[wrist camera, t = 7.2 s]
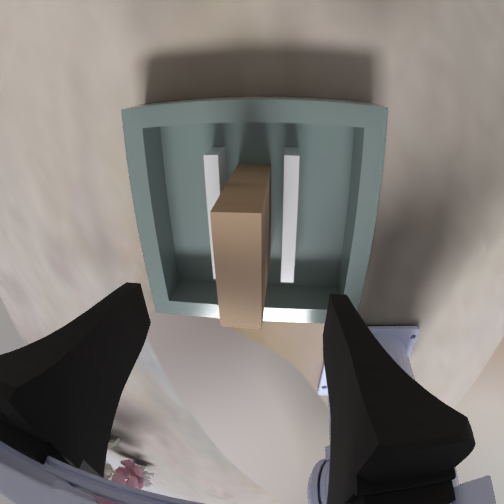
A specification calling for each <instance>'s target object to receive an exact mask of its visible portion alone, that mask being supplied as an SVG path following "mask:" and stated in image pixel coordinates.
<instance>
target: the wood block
mask: <svg viewBox="0 0 504 504" xmlns="http://www.w3.org/2000/svg"><path fill="white" fill-rule="evenodd" d="M210 218H211V230H212V242H213V254H214V265H215V275H216V286H217V296H218V306H219V315H220V325H221V326H224V327H238V328H254V329H262V321H263V312H264V304H265V296H266V287H267V278H268V270H269V261H270V252H271V164H237V166H236V168H235V169H234V171H233V173H232V175H231V176H230V178H229V180H228V181H227V183H226V185H225V187H224V188H223V190H222V192H221V194H220V195H219V197H218V199H217V201H216V202H215V204H214V206H213V208H212V210H211V211H210Z"/></svg>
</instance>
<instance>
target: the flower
mask: <svg viewBox="0 0 504 504" xmlns="http://www.w3.org/2000/svg"><path fill="white" fill-rule="evenodd" d="M119 440H120V438H118V439H116V440H115V441H114V442H113V443H112V442H109V443H108V448H113V447H114V446H116V445H118V442H119ZM121 464H122V465H124V466H125V467H126V468H124V467H120V466H119V467H118V468H117V469H116V470H115V471H114V470H112V467H111V465H110V464H106V463H105V468H104V478H105V479H108V478H110V477H111V474H112V472H113V473H114V475H112V481H114V482H117V483H120V484H123V485H126V486H130V487H133V488H137V489H140V490H141V489H142V487H143V486H144V485H145V486H146V487H150V486H151V485H152V483H150V482H149V481H150V480H147V479H151V478H149V477H150V476H151V477H154V473H148V471H144V469H145V468H146V467H147V466H140V467H139V465H136V466H135V463H133V462H132V461H130V460H123V461H121ZM144 478H146V479H144ZM125 479H128V480H127V481H125ZM81 491H82V490H81ZM83 492H84V491H83ZM85 493H87V492H85ZM87 494H89V493H87ZM89 495H90V494H89ZM91 496H93V497H95V498H96V499H97V500H98V501H99V502H101V503H102V504H116V503H113V502H111V501H108V500H105V499H102V498H99V497H97V496H94V495H92V494H91Z"/></svg>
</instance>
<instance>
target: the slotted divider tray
mask: <svg viewBox="0 0 504 504" xmlns="http://www.w3.org/2000/svg"><path fill="white" fill-rule="evenodd" d="M121 111H122V121H123V131H124V140H125V148H126V156H127V164H128V171H129V178H130V185H131V191H132V198H133V204H134V210H135V215H136V221H137V227H138V232H139V237H140V242H141V247H142V252H143V257H144V262H145V266H146V271H147V275H148V280H149V284H150V289H151V293H152V297H153V301H154V305H155V309H156V312H157V313H167V314H178V315H189V316H200V317H212V318H220V315H219V306H218V296H217V286H216V275H215V265H214V254H213V242H212V230H211V218H210V211H211V210H212V208H213V206H214V204H215V202H216V201H217V199H218V197H219V195H220V194H221V192H222V190H223V188H224V187H225V185H226V183H227V181H228V180H229V178H230V176H231V175H232V173H233V171H234V169H235V168H236V166H237V164H271V252H270V261H269V270H268V278H267V287H266V296H265V304H264V312H263V321H277V322H301V323H325V320H326V314H327V308H328V302H329V295H330V294H346V295H347V296H348V297H349V299H350V300H351V302H352V304H353V305H354V307H355V309H356V310H357V312H358V309H359V305H360V300H361V296H362V291H363V287H364V282H365V277H366V272H367V267H368V262H369V257H370V252H371V246H372V240H373V235H374V229H375V222H376V216H377V209H378V202H379V195H380V188H381V180H382V171H383V162H384V153H385V142H386V130H387V116H388V108H387V107H384V106H381V105H377V104H374V103H367V102H358V101H348V100H336V99H323V98H304V97H221V98H203V99H189V100H177V101H167V102H158V103H149V104H143V105H139V106H134V107H130V108H126V109H122V110H121Z"/></svg>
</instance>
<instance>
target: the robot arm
mask: <svg viewBox="0 0 504 504" xmlns="http://www.w3.org/2000/svg"><path fill="white" fill-rule="evenodd" d="M150 323H151V322H150V319H149V315H148V311H147V307H146V304H145V300H144V296H143V292H142V288H141V284H140V283H128V282H127V283H125V284H124V285H122V286H121V287H119V288H118V289H116V290H115V291H113V292H112V293H111V294H109V295H108V296H107V297H105V298H104V299H103V300H101V301H100V302H98V303H97V304H96V305H94V306H93V307H92V308H90V309H89V310H88V311H86V312H85V313H83V314H82V315H80V316H79V317H77V318H76V319H74V320H73V321H71V322H70V323H68V324H67V325H65V326H64V327H62V328H60V329H59V330H57V331H55V332H53V333H52V334H50V335H48V336H46V337H44V338H42V339H40V340H38V341H36V342H33V343H31V344H29V345H27V346H25V347H22V348H20V349H17V350H14V351H11V352H9V353H5V354H2V355H0V493H1V494H3V495H4V496H5V497H7V498H8V499H10V500H11V501H13V502H14V503H16V504H102V503H101V502H99V501H98V500H97V499H96V498H95V497H93V496H91V495H89V494H92V495H94V496H97V497H99V498H102V499H105V500H108V501H111V502H113V503H116V504H204V503H198V502H192V501H187V500H182V499H177V498H172V497H168V496H164V495H159V494H155V493H151V492H148V491H144V490H140V489H137V488H133V487H130V486H126V485H123V484H120V483H117V482H114V481H110V480H108V479H105V478H104V468H105V461H106V453H107V448H108V443H109V437H110V433H111V428H112V424H113V420H114V417H115V413H116V409H117V406H118V403H119V400H120V396H121V394H122V391H123V389H124V386H125V384H126V382H127V380H128V377H129V375H130V373H131V371H132V369H133V367H134V364H135V362H136V360H137V358H138V356H139V354H140V352H141V349H142V347H143V345H144V342H145V339H146V336H147V333H148V330H149V326H150ZM419 332H420V330H419V327H418V326H367V325H366V324H365V322H364V321H363V319H362V318H361V316H360V315H359V313H358V312H357V310H356V309H355V307H354V305H353V304H352V302H351V300H350V299H349V297H348V296H347V295H346V294H330V295H329V302H328V308H327V314H326V320H325V326H324V332H323V357H324V365H323V369H322V374H321V378H320V383H319V387H318V394H319V395H328V411H329V435H330V445H329V446H327V447H325V448H326V449H325V451H326V459H322V460H320V461H319V462H318V463H317V464H316V465H315V467H314V469H313V471H312V473H311V475H310V478H309V482H308V489H307V490H308V491H307V492H308V493H307V494H308V503H309V504H496V501H495V496H494V491H493V486H492V482H491V477H490V476H485V477H482V478H478V479H475V480H472V481H469V482H465V483H463V484H460V485H459V483H458V476H457V470H456V466H457V465H458V464H459V463H460V462H462V461H463V460H464V459H465V458H466V457H467V456H468V455H469V454H470V453H471V452H472V450H473V449H474V447H475V440H474V437H473V432H472V429H471V426H470V424H469V421H468V418H467V417H466V416H464V415H463V414H461V413H459V412H457V411H456V410H454V409H453V408H451V407H449V406H448V405H446V404H445V403H443V402H442V401H440V400H439V399H438V398H436V397H435V396H433V395H432V394H431V393H429V392H428V391H427V390H426V389H424V388H423V387H422V386H421V385H420V384H419V383H417V382H416V381H415V378H414V375H413V371H412V368H411V364H410V361H409V356H410V353H411V351H412V349H413V346H414V344H415V342H416V339H417V337H418V335H419ZM412 335H413V336H412ZM81 490H82V491H81ZM83 491H84V492H83ZM85 492H87V493H89V494H87V493H85Z"/></svg>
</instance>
